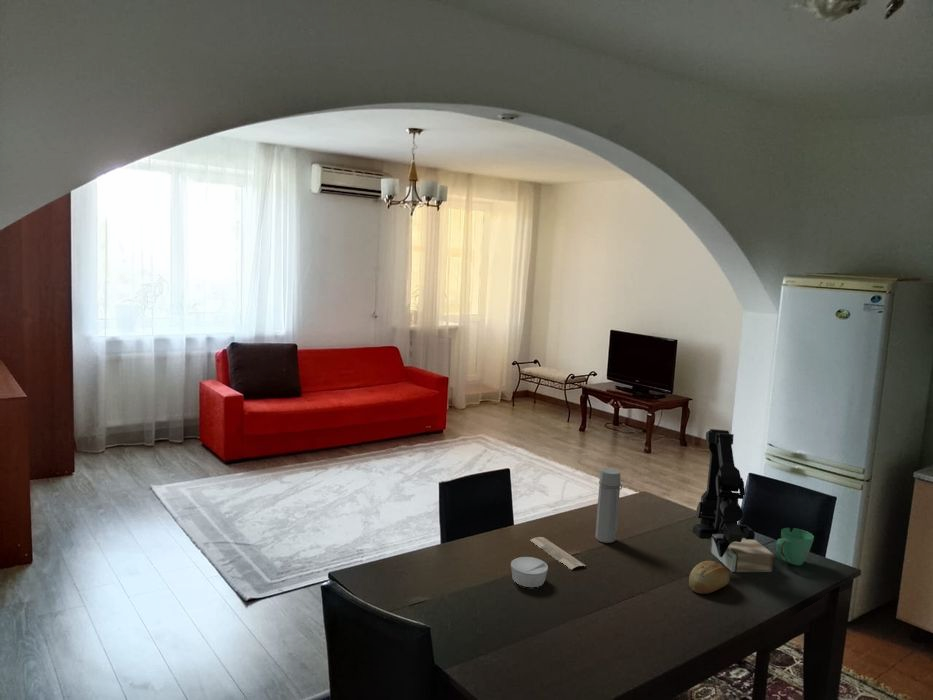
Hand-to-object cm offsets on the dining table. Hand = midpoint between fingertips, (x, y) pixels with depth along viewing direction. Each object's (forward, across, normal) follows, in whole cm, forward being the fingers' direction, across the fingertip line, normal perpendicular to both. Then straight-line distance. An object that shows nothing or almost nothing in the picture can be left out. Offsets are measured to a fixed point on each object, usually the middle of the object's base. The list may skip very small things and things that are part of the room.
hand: (720, 556), depth 216 cm
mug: (+3, +25, +2) cm, 26 cm away
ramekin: (+4, -66, -10) cm, 66 cm away
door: (+3, +2, +3) cm, 5 cm away
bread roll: (+4, -11, -14) cm, 18 cm away
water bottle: (+4, -32, +19) cm, 37 cm away
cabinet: (+3, +9, +3) cm, 10 cm away
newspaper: (+5, -53, +9) cm, 54 cm away
